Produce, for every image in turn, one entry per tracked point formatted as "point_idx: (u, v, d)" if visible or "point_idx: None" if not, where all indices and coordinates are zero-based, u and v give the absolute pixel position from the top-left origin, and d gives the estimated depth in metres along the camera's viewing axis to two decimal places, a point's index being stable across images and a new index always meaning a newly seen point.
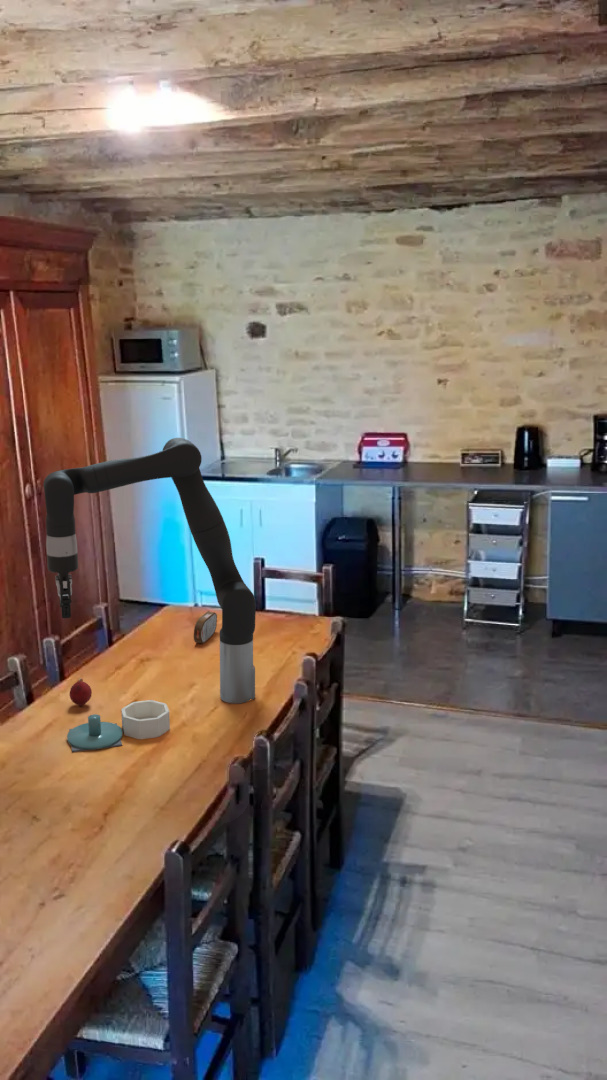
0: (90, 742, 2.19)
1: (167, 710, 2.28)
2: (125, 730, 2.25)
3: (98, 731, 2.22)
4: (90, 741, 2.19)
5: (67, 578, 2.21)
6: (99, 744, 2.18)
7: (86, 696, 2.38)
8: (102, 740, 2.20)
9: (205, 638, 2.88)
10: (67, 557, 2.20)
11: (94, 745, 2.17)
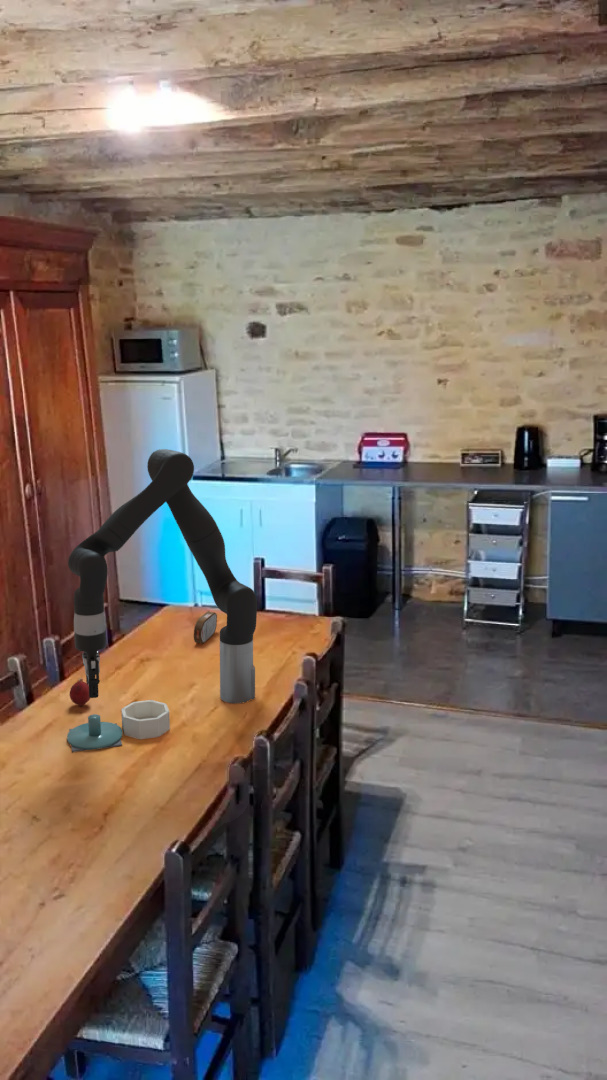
0: (90, 742, 2.19)
1: (167, 710, 2.28)
2: (125, 730, 2.25)
3: (98, 731, 2.22)
4: (90, 741, 2.19)
5: (95, 657, 2.14)
6: (99, 744, 2.18)
7: (86, 696, 2.38)
8: (102, 740, 2.20)
9: (205, 638, 2.88)
10: (95, 636, 2.13)
11: (94, 745, 2.17)
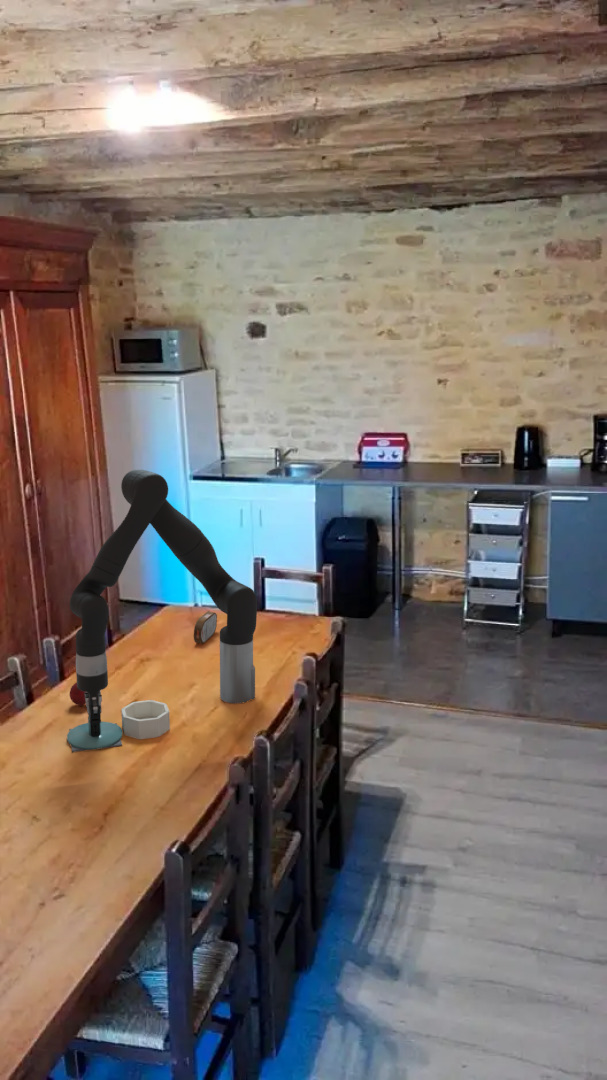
0: (90, 742, 2.19)
1: (167, 710, 2.28)
2: (125, 730, 2.25)
3: None
4: (90, 741, 2.19)
5: (97, 697, 2.17)
6: (99, 744, 2.18)
7: None
8: (102, 740, 2.20)
9: (205, 638, 2.88)
10: (97, 676, 2.16)
11: (94, 745, 2.17)
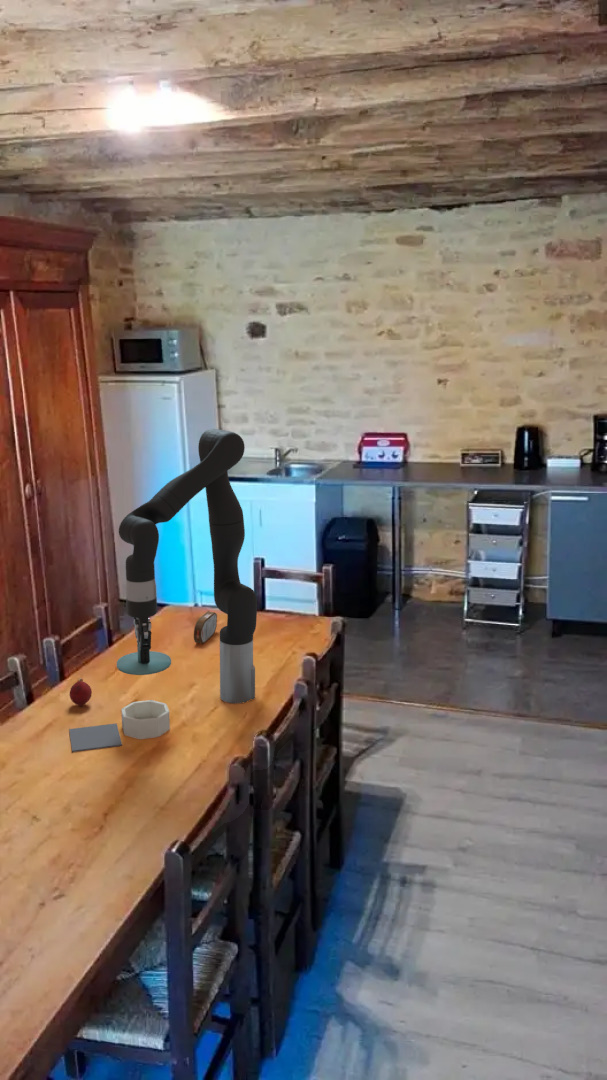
0: (140, 668, 2.20)
1: (167, 710, 2.28)
2: (125, 730, 2.25)
3: None
4: (140, 667, 2.21)
5: (147, 623, 2.18)
6: (149, 669, 2.19)
7: (86, 696, 2.38)
8: (152, 666, 2.21)
9: (205, 638, 2.88)
10: (147, 602, 2.17)
11: (144, 671, 2.18)
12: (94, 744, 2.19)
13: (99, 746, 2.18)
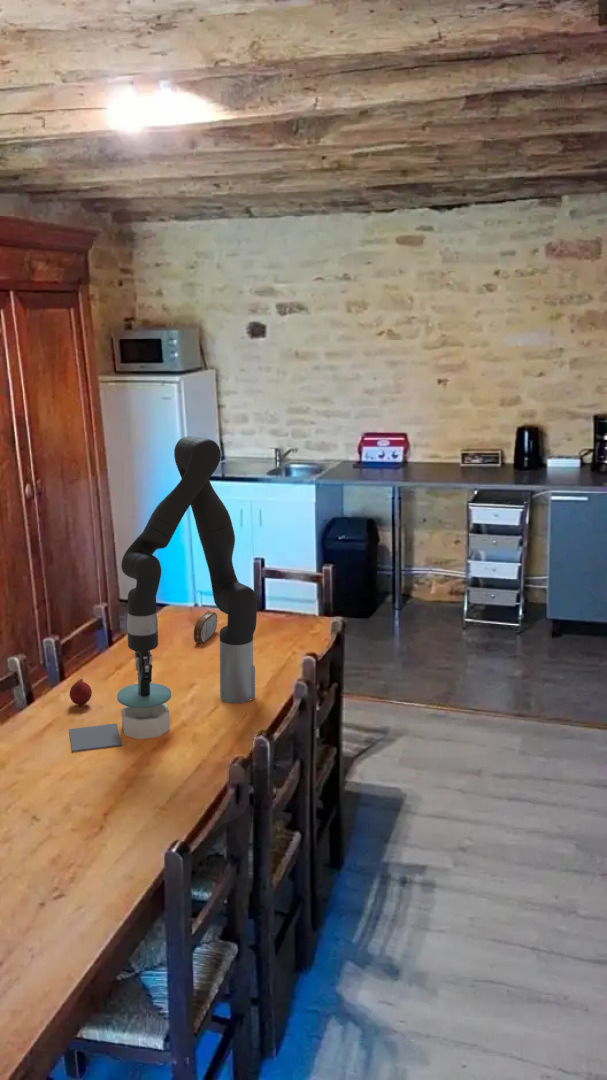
0: (141, 701, 2.22)
1: (167, 710, 2.28)
2: (125, 730, 2.25)
3: None
4: (140, 700, 2.23)
5: (148, 656, 2.20)
6: (149, 702, 2.21)
7: (86, 696, 2.38)
8: (152, 699, 2.23)
9: (205, 638, 2.88)
10: (149, 636, 2.19)
11: (145, 704, 2.21)
12: (94, 744, 2.19)
13: (99, 746, 2.18)
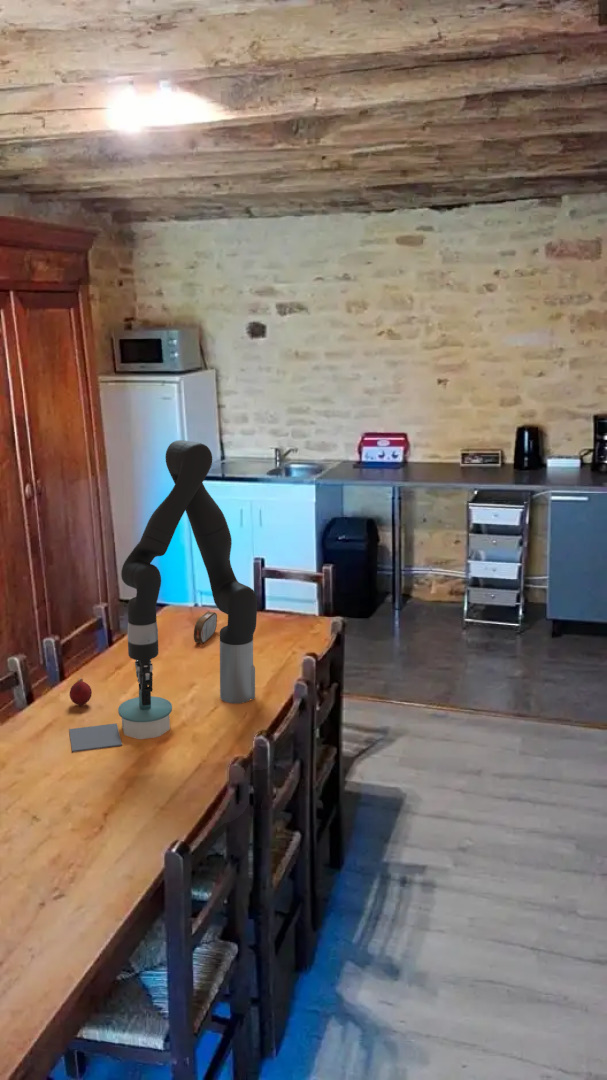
0: (142, 715, 2.23)
1: None
2: (125, 730, 2.25)
3: (148, 705, 2.26)
4: (141, 714, 2.24)
5: (148, 665, 2.21)
6: (150, 716, 2.22)
7: (86, 696, 2.38)
8: (153, 713, 2.24)
9: (205, 638, 2.88)
10: (149, 645, 2.20)
11: (146, 718, 2.22)
12: (94, 744, 2.19)
13: (99, 746, 2.18)
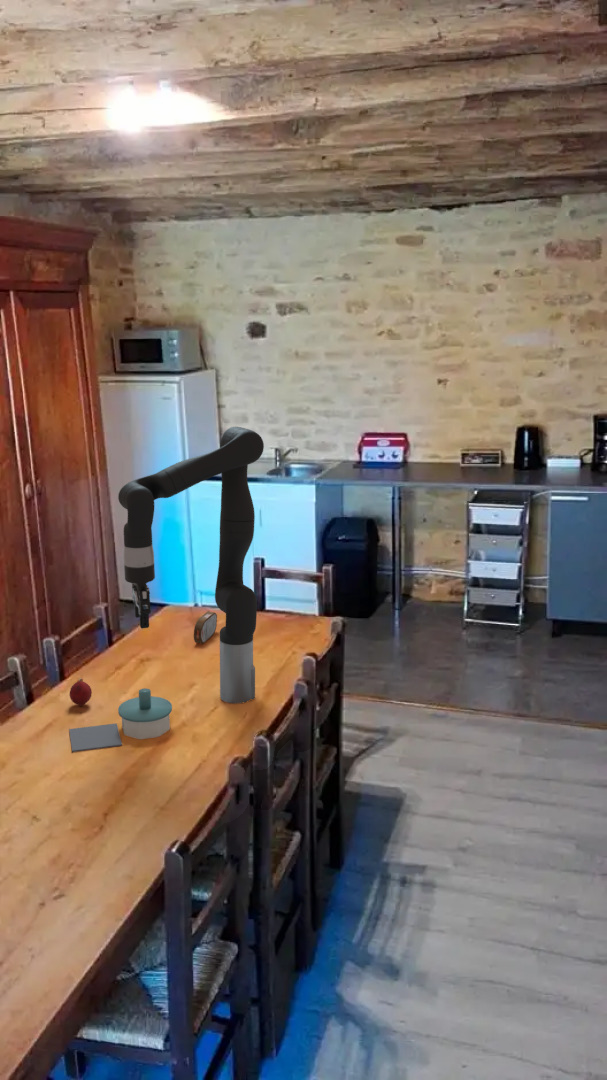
0: (142, 715, 2.23)
1: None
2: (125, 730, 2.25)
3: (148, 705, 2.26)
4: (141, 714, 2.24)
5: (145, 588, 2.22)
6: (150, 716, 2.22)
7: (86, 696, 2.38)
8: (153, 713, 2.24)
9: (205, 638, 2.88)
10: (145, 567, 2.21)
11: (146, 718, 2.22)
12: (94, 744, 2.19)
13: (99, 746, 2.18)
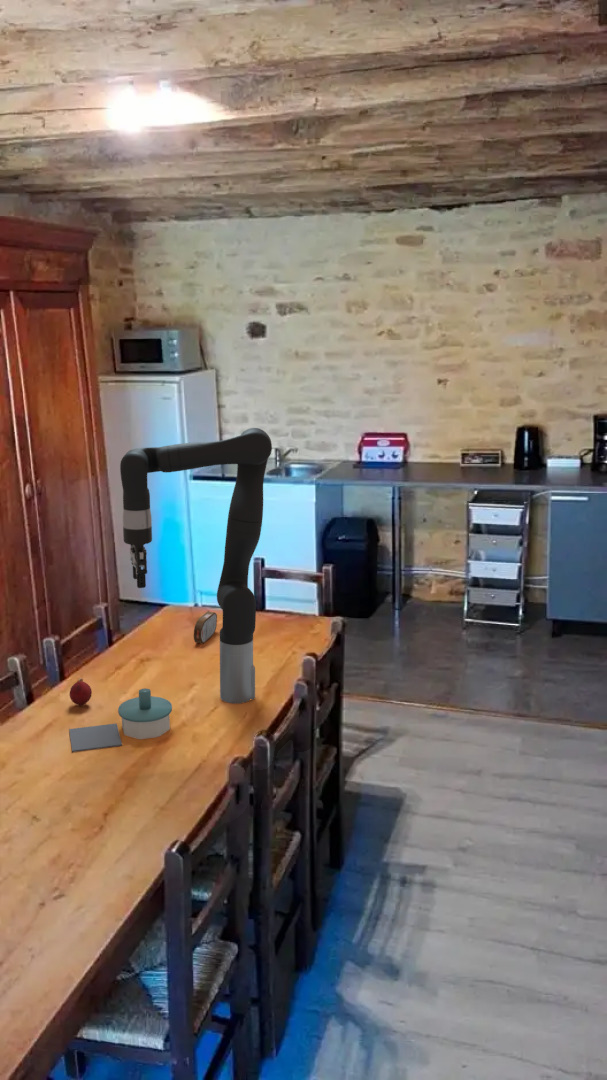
0: (142, 715, 2.23)
1: None
2: (125, 730, 2.25)
3: (148, 705, 2.26)
4: (141, 714, 2.24)
5: (143, 550, 2.34)
6: (150, 716, 2.22)
7: (86, 696, 2.38)
8: (153, 713, 2.24)
9: (205, 638, 2.88)
10: (143, 530, 2.33)
11: (146, 718, 2.22)
12: (94, 744, 2.19)
13: (99, 746, 2.18)
